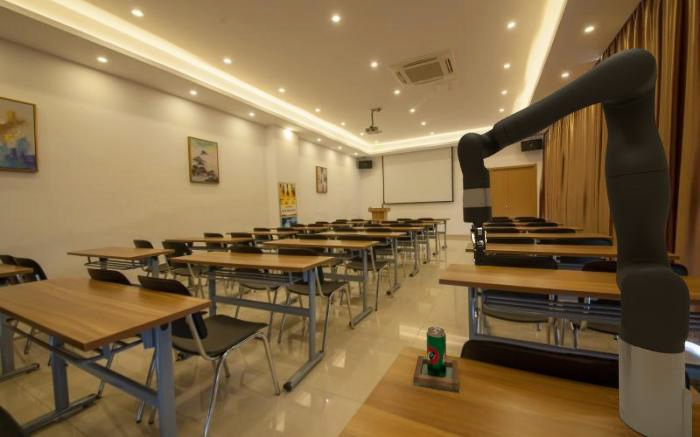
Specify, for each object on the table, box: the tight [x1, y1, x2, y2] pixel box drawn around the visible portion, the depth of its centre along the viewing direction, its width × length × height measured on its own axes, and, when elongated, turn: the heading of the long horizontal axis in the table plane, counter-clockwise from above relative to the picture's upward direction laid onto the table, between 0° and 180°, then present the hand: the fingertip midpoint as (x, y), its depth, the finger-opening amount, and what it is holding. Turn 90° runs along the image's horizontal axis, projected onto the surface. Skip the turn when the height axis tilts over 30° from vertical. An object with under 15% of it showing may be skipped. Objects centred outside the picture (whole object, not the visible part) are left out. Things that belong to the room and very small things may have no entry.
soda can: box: [426, 326, 447, 377], centre depth 78 cm, size 5×5×12 cm
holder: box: [413, 355, 460, 394], centre depth 78 cm, size 11×11×2 cm
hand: (479, 262), depth 82 cm, fingers open, 8 cm apart
